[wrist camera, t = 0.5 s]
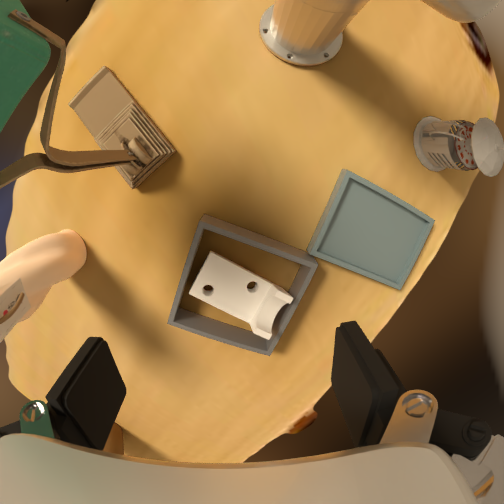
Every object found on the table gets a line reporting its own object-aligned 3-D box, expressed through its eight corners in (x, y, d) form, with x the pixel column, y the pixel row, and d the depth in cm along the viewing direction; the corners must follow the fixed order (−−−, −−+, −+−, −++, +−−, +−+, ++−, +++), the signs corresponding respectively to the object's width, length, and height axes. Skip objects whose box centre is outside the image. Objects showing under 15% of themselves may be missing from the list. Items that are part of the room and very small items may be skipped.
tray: (342, 169, 39) (347, 169, 37) (428, 217, 42) (434, 220, 40) (306, 249, 43) (309, 254, 41) (394, 284, 46) (400, 290, 44)
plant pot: (84, 422, 60) (66, 461, 45) (92, 402, 56) (71, 447, 41) (127, 445, 63) (115, 486, 48) (141, 429, 60) (128, 476, 44)
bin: (204, 213, 41) (199, 220, 37) (311, 254, 44) (318, 264, 39) (173, 309, 47) (167, 323, 42) (268, 340, 49) (269, 356, 45)
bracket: (280, 286, 47) (293, 298, 39) (259, 322, 47) (268, 340, 40) (210, 249, 44) (210, 255, 37) (190, 288, 45) (186, 301, 37)
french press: (448, 179, 40) (558, 212, 16) (399, 156, 39) (521, 174, 15) (457, 129, 36) (566, 137, 13) (409, 102, 35) (526, 84, 12)
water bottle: (82, 214, 41) (-43, 284, 14) (102, 262, 44) (0, 364, 17) (46, 234, 42) (-64, 302, 15) (64, 277, 44) (-29, 365, 18)
